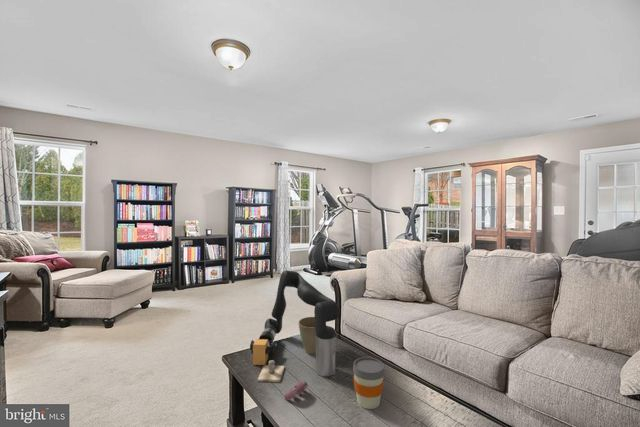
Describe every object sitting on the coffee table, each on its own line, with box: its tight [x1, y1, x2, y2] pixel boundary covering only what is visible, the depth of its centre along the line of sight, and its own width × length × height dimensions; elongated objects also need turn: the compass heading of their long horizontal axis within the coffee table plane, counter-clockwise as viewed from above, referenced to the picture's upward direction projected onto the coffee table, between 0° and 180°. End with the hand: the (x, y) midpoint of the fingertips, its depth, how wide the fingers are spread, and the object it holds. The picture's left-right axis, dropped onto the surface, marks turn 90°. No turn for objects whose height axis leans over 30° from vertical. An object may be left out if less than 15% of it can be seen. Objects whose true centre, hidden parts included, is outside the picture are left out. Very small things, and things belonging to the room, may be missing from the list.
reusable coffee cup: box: [352, 356, 386, 410], centre depth 121 cm, size 13×13×15 cm
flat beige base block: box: [257, 359, 285, 383], centre depth 140 cm, size 10×12×6 cm
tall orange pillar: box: [252, 338, 269, 366], centre depth 151 cm, size 6×6×10 cm
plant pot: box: [297, 316, 316, 355], centre depth 163 cm, size 15×15×16 cm
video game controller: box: [283, 380, 309, 401], centre depth 124 cm, size 10×5×7 cm, turn 143°
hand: (259, 352), depth 149 cm, fingers closed on tall orange pillar, 6 cm apart
